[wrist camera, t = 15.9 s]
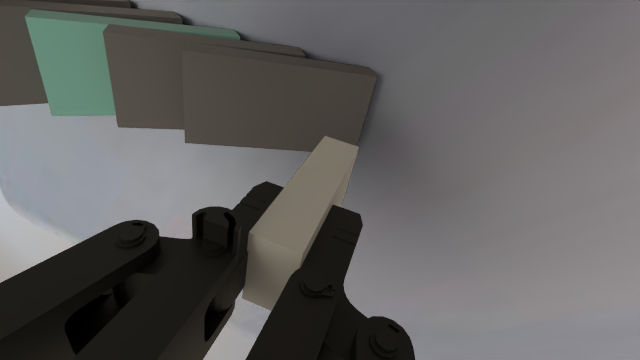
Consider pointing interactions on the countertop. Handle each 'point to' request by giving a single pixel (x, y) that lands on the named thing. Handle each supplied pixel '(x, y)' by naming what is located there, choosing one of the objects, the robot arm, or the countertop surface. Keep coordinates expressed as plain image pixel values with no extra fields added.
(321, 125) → the domino
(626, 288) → the countertop surface
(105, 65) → the domino
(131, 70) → the domino
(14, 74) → the domino
